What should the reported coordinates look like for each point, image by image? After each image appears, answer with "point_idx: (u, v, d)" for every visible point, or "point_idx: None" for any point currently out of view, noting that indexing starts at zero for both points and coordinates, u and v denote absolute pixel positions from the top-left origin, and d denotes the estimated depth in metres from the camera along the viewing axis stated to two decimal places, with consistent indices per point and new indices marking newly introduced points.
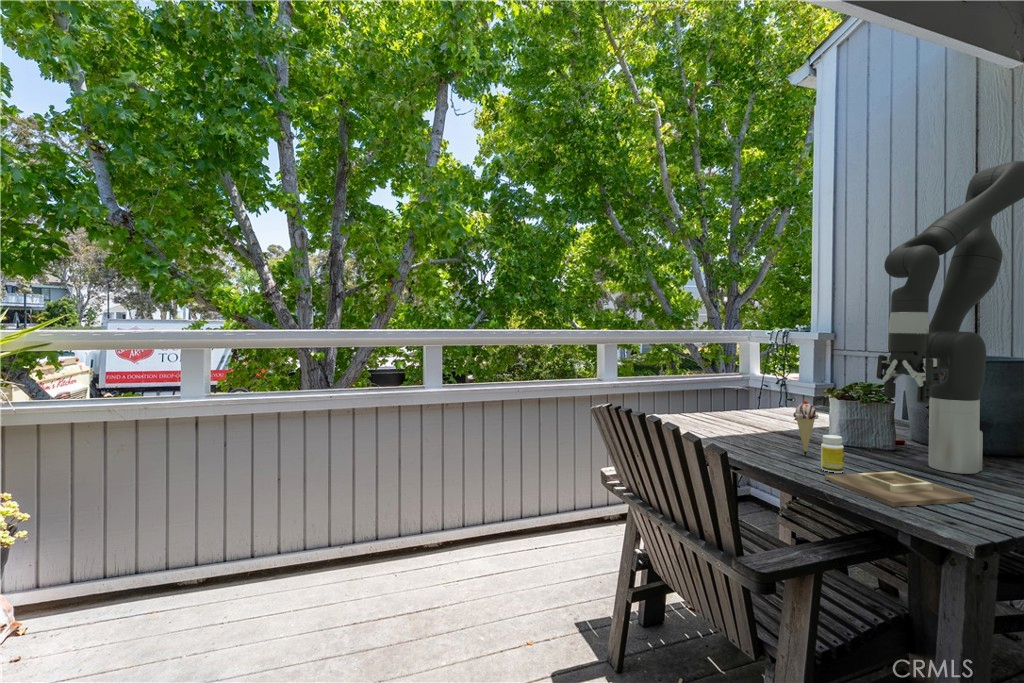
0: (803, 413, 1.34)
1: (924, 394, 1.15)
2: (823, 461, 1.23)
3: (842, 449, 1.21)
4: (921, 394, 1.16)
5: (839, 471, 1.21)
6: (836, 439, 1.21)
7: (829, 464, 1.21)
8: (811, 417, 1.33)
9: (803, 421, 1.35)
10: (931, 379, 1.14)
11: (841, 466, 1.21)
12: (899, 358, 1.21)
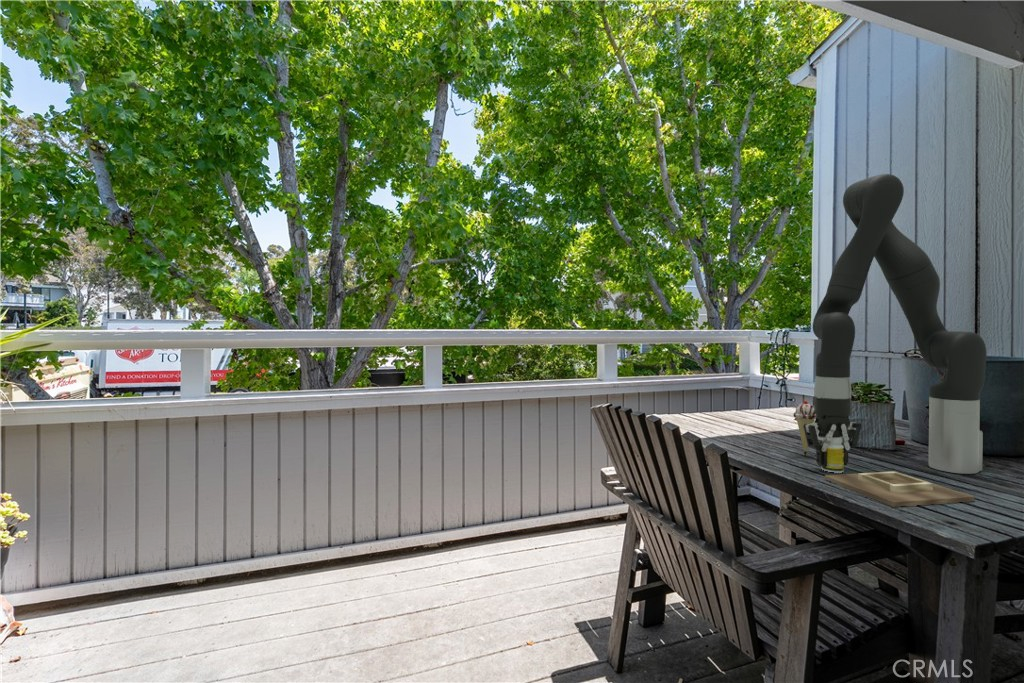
0: (803, 413, 1.34)
1: (847, 457, 1.23)
2: None
3: (842, 449, 1.21)
4: (846, 457, 1.23)
5: (839, 471, 1.21)
6: (836, 439, 1.21)
7: (829, 464, 1.21)
8: (811, 417, 1.33)
9: (803, 421, 1.35)
10: None
11: (841, 466, 1.21)
12: (832, 422, 1.22)
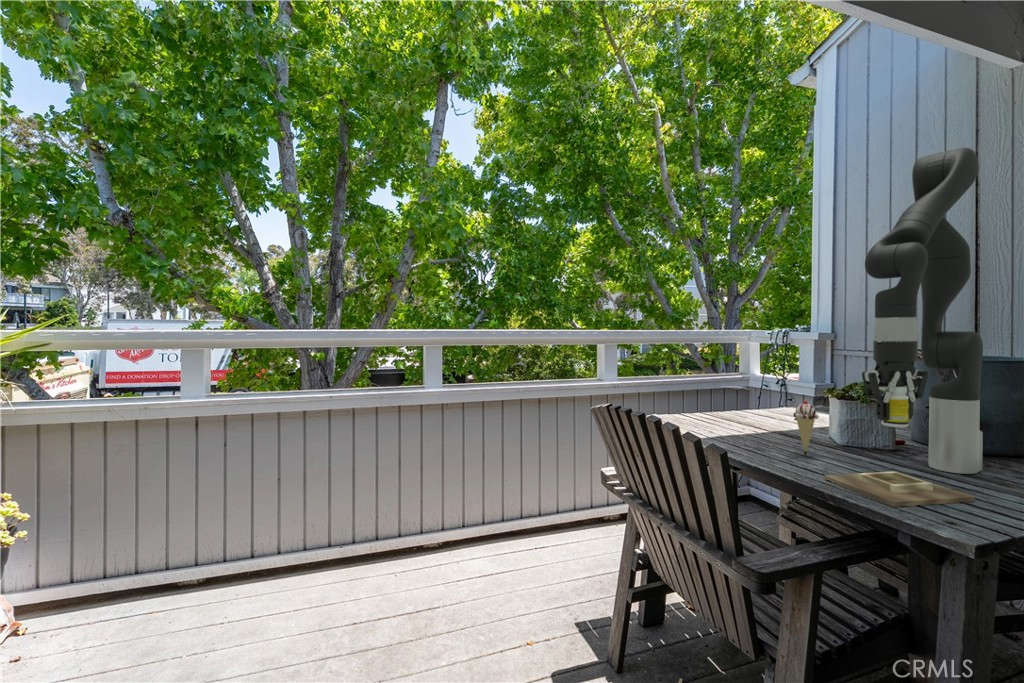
0: (803, 413, 1.34)
1: (912, 409, 1.08)
2: None
3: (907, 399, 1.06)
4: None
5: (904, 425, 1.06)
6: (900, 388, 1.06)
7: (893, 417, 1.07)
8: (811, 417, 1.33)
9: (803, 421, 1.35)
10: None
11: (906, 419, 1.06)
12: (895, 369, 1.07)
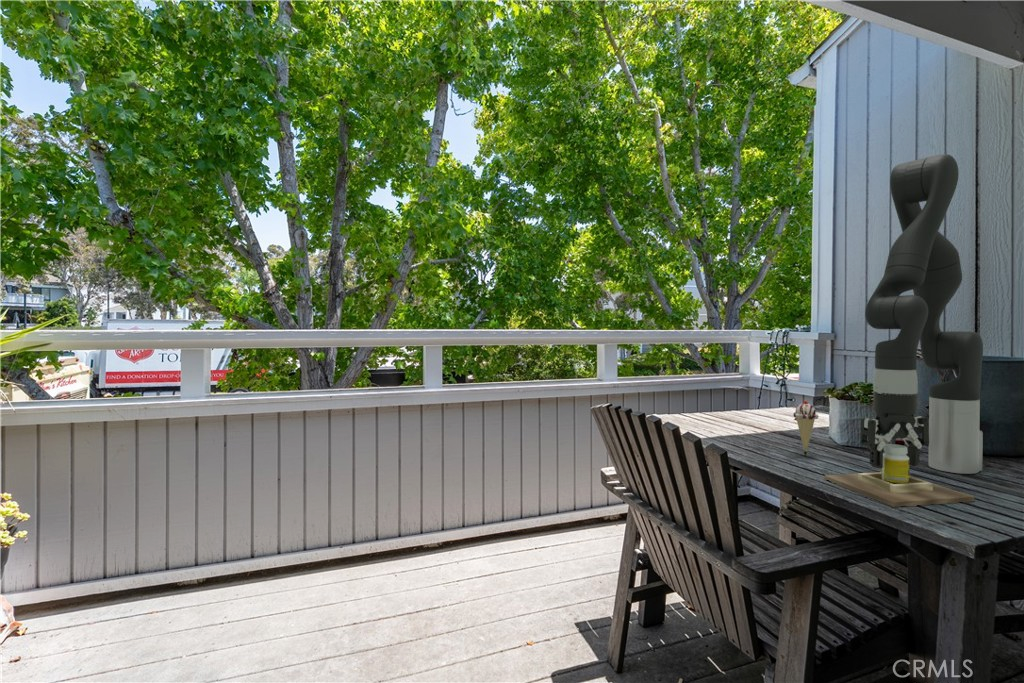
0: (803, 413, 1.34)
1: (918, 456, 1.08)
2: (885, 474, 1.08)
3: (908, 460, 1.06)
4: (917, 457, 1.08)
5: None
6: (901, 449, 1.06)
7: (893, 477, 1.07)
8: (811, 417, 1.33)
9: (803, 421, 1.35)
10: None
11: (907, 480, 1.06)
12: (895, 421, 1.07)
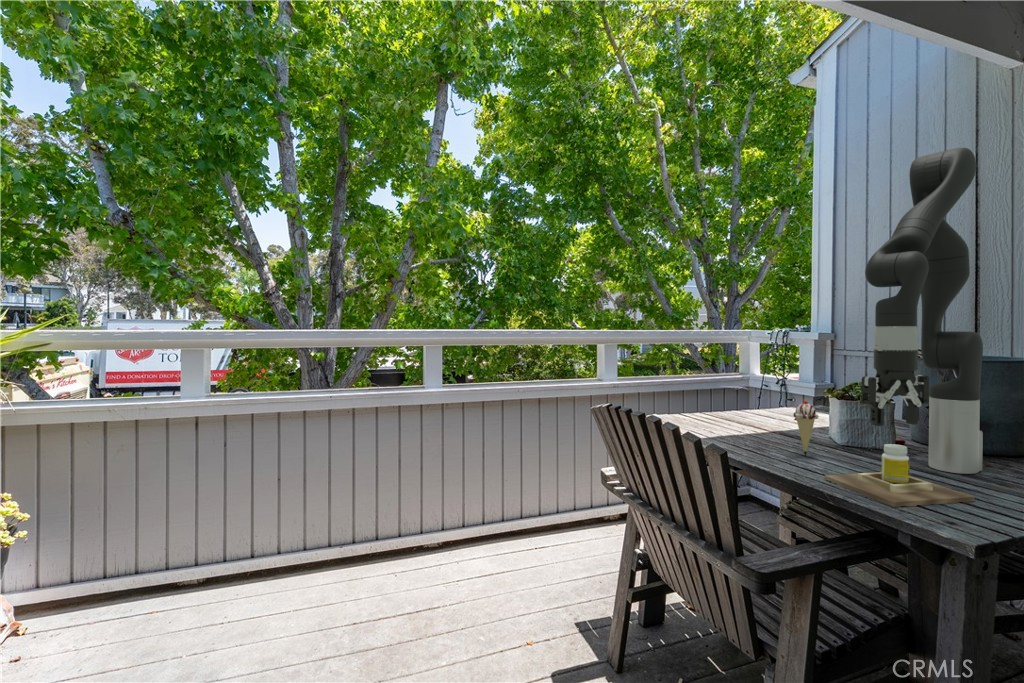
0: (803, 413, 1.34)
1: (918, 414, 1.08)
2: (885, 474, 1.08)
3: (908, 460, 1.06)
4: None
5: None
6: (901, 449, 1.06)
7: (893, 477, 1.07)
8: (811, 417, 1.33)
9: (803, 421, 1.35)
10: None
11: (907, 480, 1.06)
12: (895, 378, 1.07)
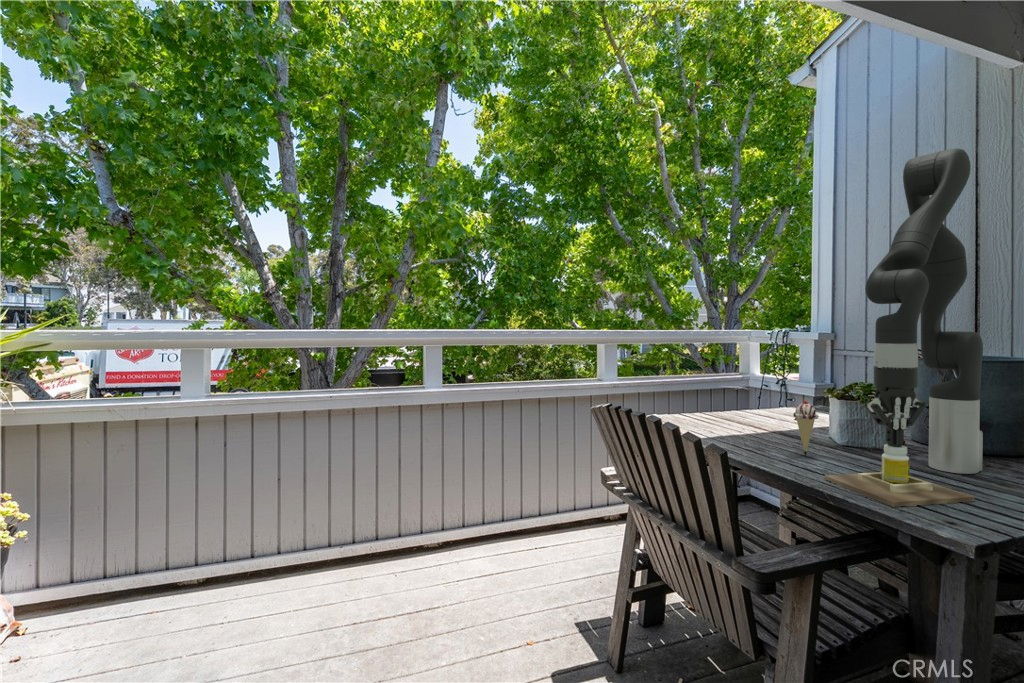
0: (803, 413, 1.34)
1: (902, 437, 1.08)
2: (885, 474, 1.08)
3: (908, 460, 1.06)
4: (901, 437, 1.07)
5: None
6: (901, 449, 1.06)
7: (893, 477, 1.07)
8: (811, 417, 1.33)
9: (803, 421, 1.35)
10: None
11: (907, 480, 1.06)
12: (895, 395, 1.07)
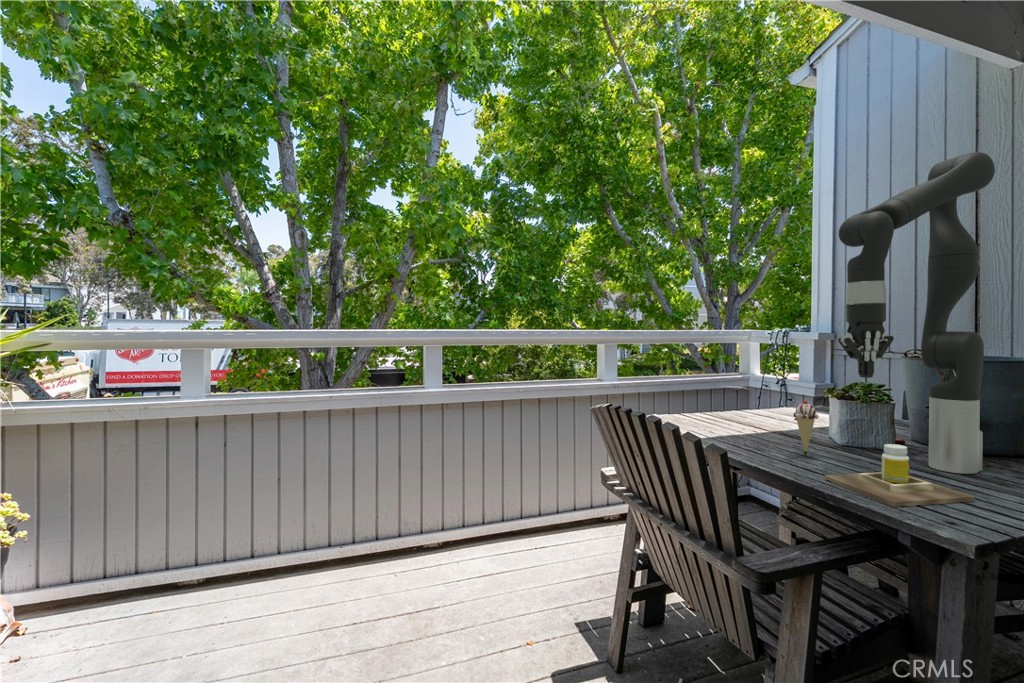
0: (803, 413, 1.34)
1: (873, 368, 1.17)
2: (885, 474, 1.08)
3: (908, 460, 1.06)
4: None
5: None
6: (901, 449, 1.06)
7: (893, 477, 1.07)
8: (811, 417, 1.33)
9: (803, 421, 1.35)
10: None
11: (907, 480, 1.06)
12: (866, 329, 1.16)
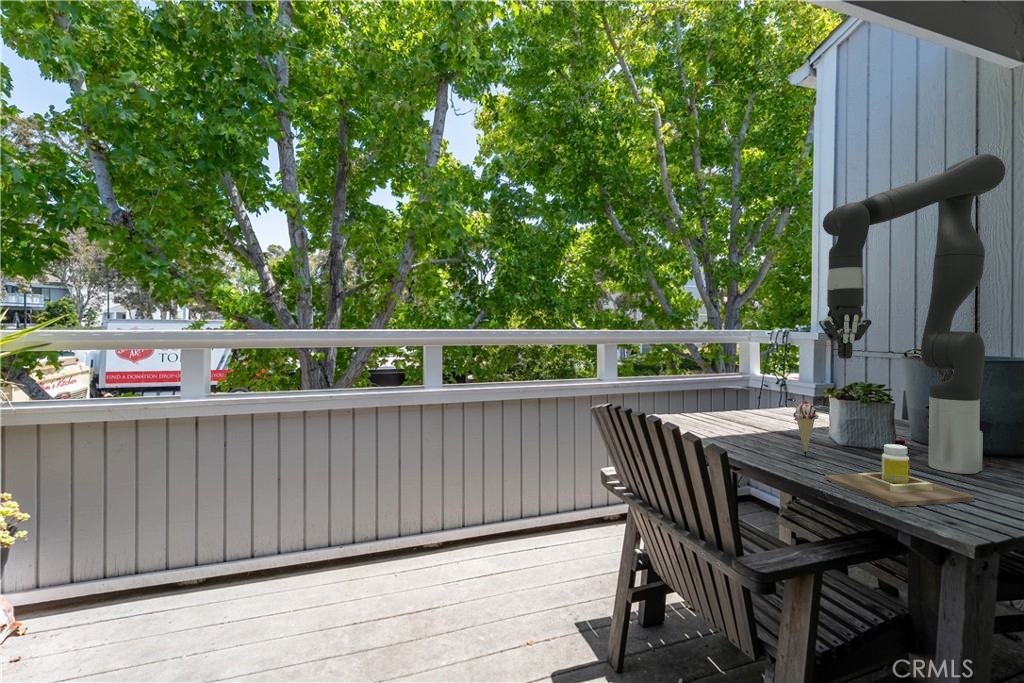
0: (803, 413, 1.34)
1: (851, 350, 1.25)
2: (885, 474, 1.08)
3: (908, 460, 1.06)
4: (850, 350, 1.24)
5: None
6: (901, 449, 1.06)
7: (893, 477, 1.07)
8: (811, 417, 1.33)
9: (803, 421, 1.35)
10: None
11: (907, 480, 1.06)
12: (845, 313, 1.23)
